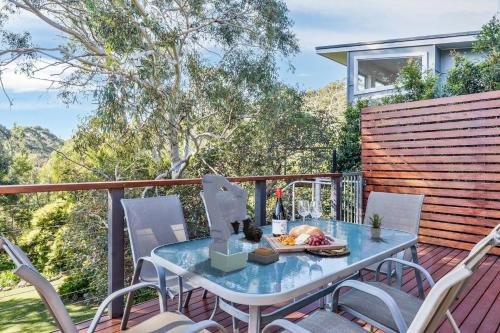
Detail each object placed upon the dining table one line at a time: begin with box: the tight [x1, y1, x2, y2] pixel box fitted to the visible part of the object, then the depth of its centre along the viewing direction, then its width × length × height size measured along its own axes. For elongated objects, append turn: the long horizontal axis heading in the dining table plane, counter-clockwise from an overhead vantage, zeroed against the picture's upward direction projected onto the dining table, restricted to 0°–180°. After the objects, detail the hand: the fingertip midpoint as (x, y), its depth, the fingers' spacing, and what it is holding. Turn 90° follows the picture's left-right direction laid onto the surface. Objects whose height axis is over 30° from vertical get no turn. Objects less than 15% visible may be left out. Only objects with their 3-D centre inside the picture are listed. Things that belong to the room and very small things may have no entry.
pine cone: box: [242, 222, 264, 243], centre depth 225 cm, size 10×18×10 cm, turn 36°
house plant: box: [365, 212, 385, 239], centre depth 231 cm, size 14×14×16 cm
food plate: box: [307, 245, 351, 256], centre depth 196 cm, size 25×23×4 cm
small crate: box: [254, 246, 273, 257], centre depth 180 cm, size 5×7×5 cm
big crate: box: [247, 250, 280, 265], centre depth 180 cm, size 10×12×4 cm
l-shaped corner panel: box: [210, 250, 247, 273], centre depth 169 cm, size 12×12×8 cm
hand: (241, 233), depth 198 cm, fingers open, 7 cm apart
